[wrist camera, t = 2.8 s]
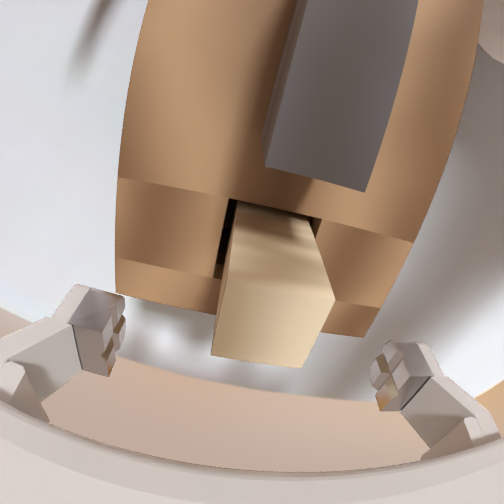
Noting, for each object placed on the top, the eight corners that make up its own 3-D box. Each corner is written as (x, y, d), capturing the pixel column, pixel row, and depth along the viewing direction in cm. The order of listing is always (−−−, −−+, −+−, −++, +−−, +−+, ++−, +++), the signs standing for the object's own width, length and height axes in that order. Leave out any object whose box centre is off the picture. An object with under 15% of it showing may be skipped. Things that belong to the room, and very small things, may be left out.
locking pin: (295, 186, 17) (335, 299, 8) (280, 233, 19) (301, 368, 10) (242, 173, 17) (227, 279, 8) (230, 222, 18) (210, 355, 10)
